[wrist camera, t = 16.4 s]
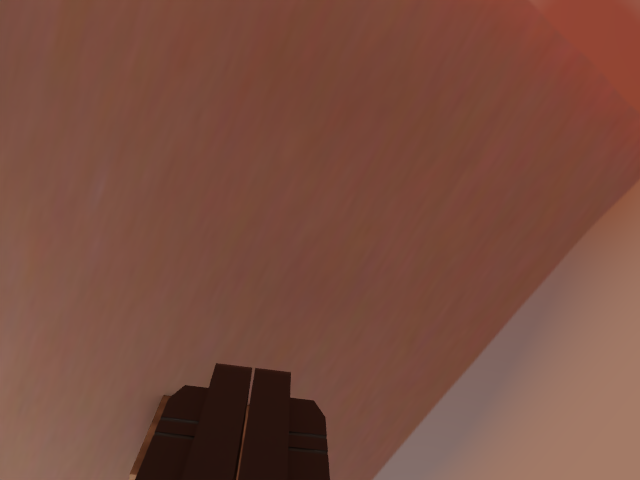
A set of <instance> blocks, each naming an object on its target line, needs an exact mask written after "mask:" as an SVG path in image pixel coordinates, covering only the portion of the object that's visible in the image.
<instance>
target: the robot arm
mask: <svg viewBox="0 0 640 480" xmlns="http://www.w3.org/2000/svg"><path fill="white" fill-rule="evenodd" d="M251 373H252V368H250V367H242V366H234V365H226V364H218V363H216V365H215V369H214V372H213V375H212V379H211V382H210V386H209V388H204V387H195V386H187V385H185V386H184V387H182V388H181V389H180V390H179V391H177V392H176V393H175V394H174V395H172V396H171V397H170V398H169V399H168V400H167V403H166V405H165V408H164V410H163V413H162V415H161V419H160V420H159V422H158V425H157V427H156V430H155V433H154V435H153V437H152V439H151V442H150V444H149V447H148V449H147V451H146V454H145V456H144V459H143V461H142V464H141V466H140V468H139V471H138V473H137V476H136V478H135V480H236V478H237V472H238V465H239V459H240V452H241V445H242V438H243V431H244V424H245V417H246V410H247V402H248V395H249V388H250V381H251ZM290 382H291V372H284V371H275V370H267V369H259V368H255V373H254V380H253V386H252V392H251V399H250V405H249V412H248V418H247V424H246V431H245V437H244V444H243V450H242V456H241V463H240V469H239V476H238V480H330V476H329V462H328V455H327V452H328V448H327V439H326V436H327V434H326V420H325V416H324V415H323V413H322V412H321V410H320V409H319V407H318V406H317V404H316V403H315V402H314V401H313V400H305V399H297V398H290Z"/></svg>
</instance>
